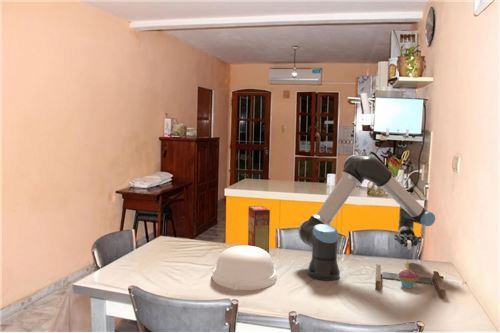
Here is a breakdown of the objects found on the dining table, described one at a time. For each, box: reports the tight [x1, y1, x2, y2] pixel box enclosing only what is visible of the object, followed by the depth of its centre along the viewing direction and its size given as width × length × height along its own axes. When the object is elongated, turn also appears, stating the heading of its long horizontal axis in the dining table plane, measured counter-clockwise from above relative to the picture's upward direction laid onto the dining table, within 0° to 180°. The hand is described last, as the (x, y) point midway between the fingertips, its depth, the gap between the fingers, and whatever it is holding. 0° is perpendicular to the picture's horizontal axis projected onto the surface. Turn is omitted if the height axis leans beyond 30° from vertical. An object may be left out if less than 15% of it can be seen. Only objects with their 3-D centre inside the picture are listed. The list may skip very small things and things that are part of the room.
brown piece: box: [374, 264, 446, 300], centre depth 192 cm, size 28×24×4 cm
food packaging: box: [247, 205, 271, 255], centre depth 236 cm, size 13×9×25 cm
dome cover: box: [211, 244, 278, 291], centre depth 195 cm, size 32×30×14 cm
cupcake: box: [398, 258, 419, 289], centre depth 189 cm, size 9×8×12 cm
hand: (409, 246), depth 197 cm, fingers closed
